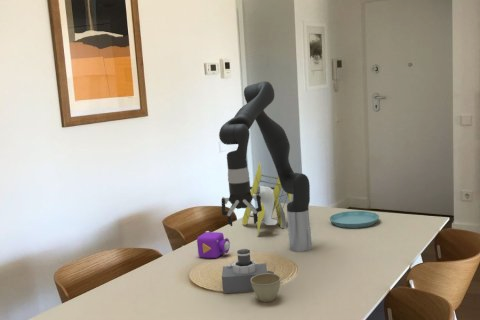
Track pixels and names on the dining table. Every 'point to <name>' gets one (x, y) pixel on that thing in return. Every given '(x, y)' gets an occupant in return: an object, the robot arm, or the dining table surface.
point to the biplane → (267, 202)
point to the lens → (243, 257)
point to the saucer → (354, 219)
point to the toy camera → (212, 245)
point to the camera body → (240, 276)
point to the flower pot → (266, 286)
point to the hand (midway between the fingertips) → (243, 224)
